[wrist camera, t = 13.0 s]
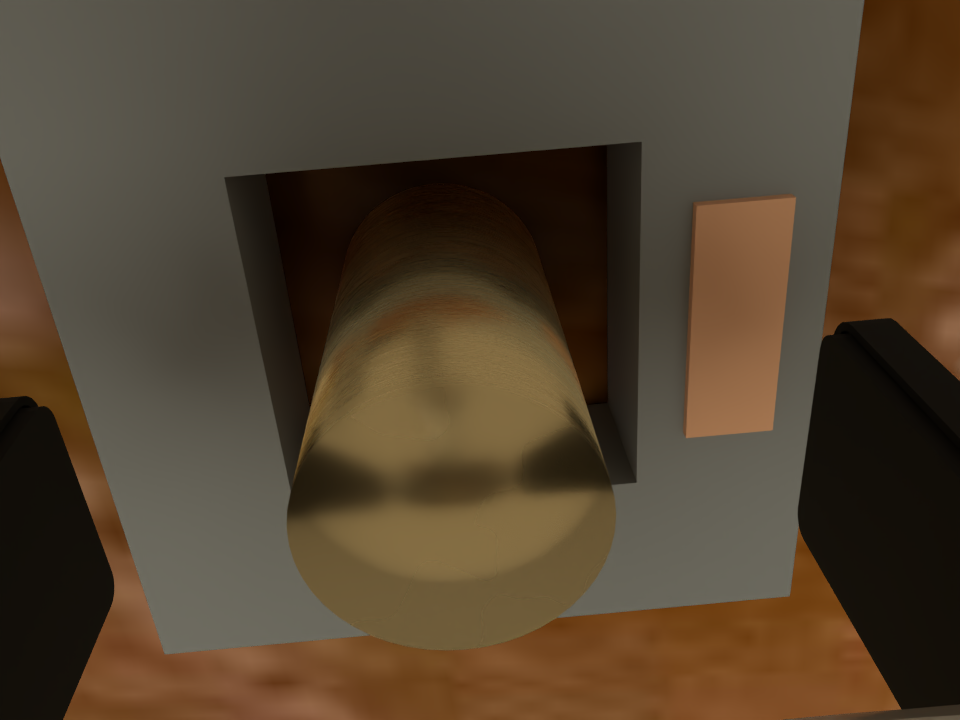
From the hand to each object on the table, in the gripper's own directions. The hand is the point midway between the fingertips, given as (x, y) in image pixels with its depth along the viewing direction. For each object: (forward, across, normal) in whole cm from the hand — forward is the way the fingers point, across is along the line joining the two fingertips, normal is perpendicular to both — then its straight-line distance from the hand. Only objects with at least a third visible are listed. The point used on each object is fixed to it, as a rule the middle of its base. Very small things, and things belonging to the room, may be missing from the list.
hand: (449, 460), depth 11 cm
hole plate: (+7, 0, +1) cm, 7 cm away
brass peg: (+7, 0, +1) cm, 8 cm away
